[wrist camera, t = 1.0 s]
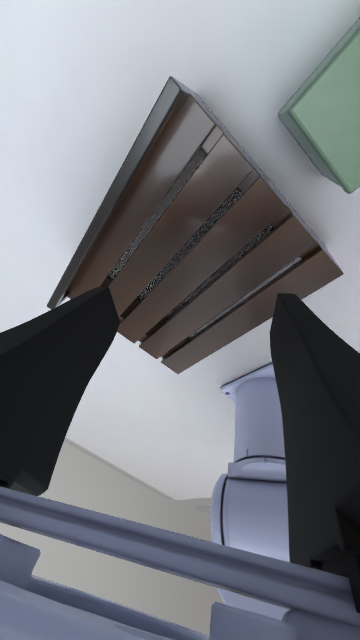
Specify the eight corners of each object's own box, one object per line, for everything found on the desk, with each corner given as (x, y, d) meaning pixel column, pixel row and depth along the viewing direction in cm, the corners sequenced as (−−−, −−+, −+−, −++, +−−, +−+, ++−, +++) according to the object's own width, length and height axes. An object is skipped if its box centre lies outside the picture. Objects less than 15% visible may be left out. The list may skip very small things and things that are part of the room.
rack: (326, 248, 17) (356, 291, 13) (185, 346, 27) (173, 391, 22) (195, 92, 13) (169, 74, 9) (85, 270, 23) (46, 306, 18)
